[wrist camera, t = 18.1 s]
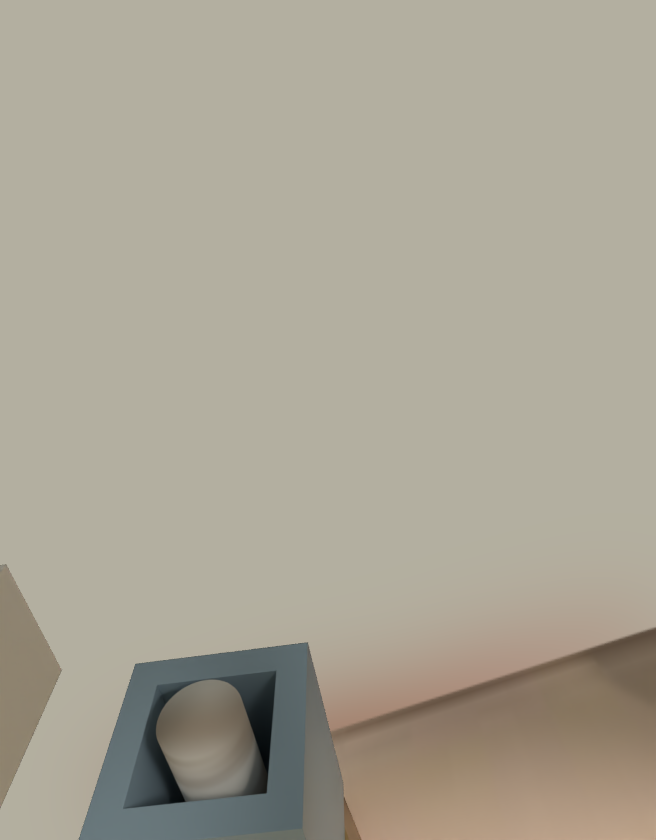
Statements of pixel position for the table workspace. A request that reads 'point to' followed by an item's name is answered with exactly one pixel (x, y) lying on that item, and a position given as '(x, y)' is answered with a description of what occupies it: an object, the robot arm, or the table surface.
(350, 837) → the post stand
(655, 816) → the table surface
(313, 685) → the sleeve
